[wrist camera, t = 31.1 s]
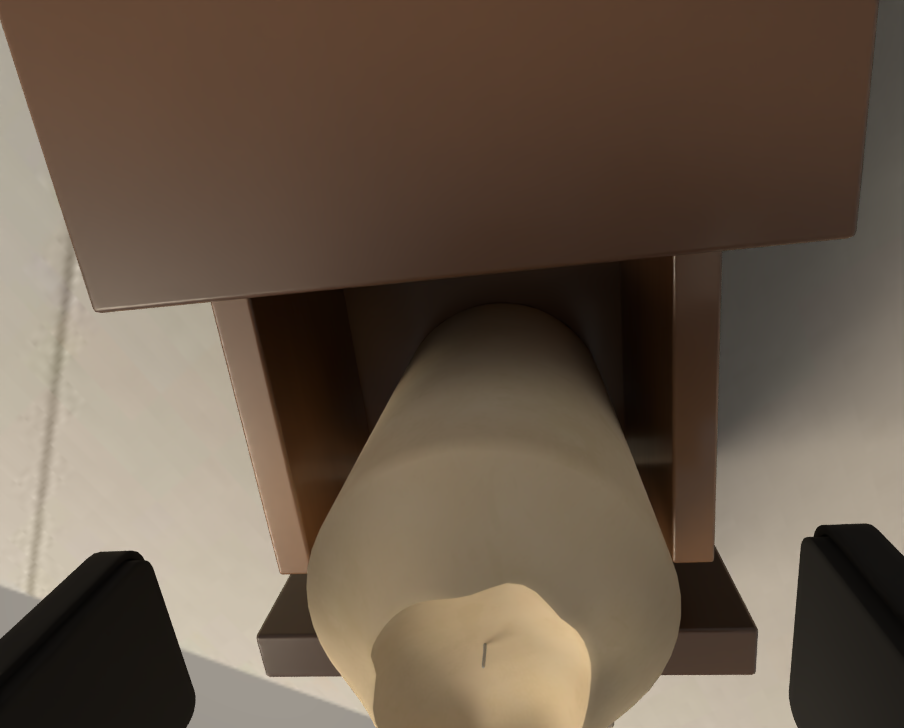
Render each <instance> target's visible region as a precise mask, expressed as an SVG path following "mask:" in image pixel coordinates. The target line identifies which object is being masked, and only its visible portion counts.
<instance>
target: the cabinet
mask: <svg viewBox="0 0 904 728" xmlns="http://www.w3.org/2000/svg"><path fill="white" fill-rule="evenodd" d="M878 4H879V0H0V20H1V23H2V27H3V30H4V33H5V36H6V39H7V42H8V45H9V48H10V51H11V55H12V58H13V61H14V64H15V67H16V70H17V73H18V76H19V79H20V83H21V86H22V89H23V92H24V95H25V98H26V101H27V104H28V108H29V111H30V114H31V117H32V120H33V123H34V126H35V129H36V132H37V136H38V139H39V142H40V145H41V148H42V151H43V154H44V157H45V160H46V164H47V167H48V170H49V173H50V176H51V179H52V182H53V185H54V188H55V192H56V195H57V198H58V201H59V204H60V207H61V210H62V213H63V216H64V220H65V223H66V226H67V229H68V232H69V235H70V238H71V241H72V244H73V248H74V251H75V254H76V257H77V260H78V263H79V266H80V269H81V272H82V276H83V279H84V282H85V285H86V288H87V291H88V294H89V297H90V301H91V304H92V307H93V309H94V310H95V312H100V313H105V312H115V311H125V310H135V309H145V308H155V307H165V306H175V305H185V304H195V303H205V302H215V301H225V300H235V299H245V298H255V297H265V296H275V295H285V294H296V293H306V292H316V291H326V290H336V289H346V288H356V287H366V286H376V285H386V284H396V283H406V282H416V281H426V280H436V279H446V278H456V277H466V276H476V275H486V274H496V273H506V272H516V271H526V270H536V269H546V268H556V267H566V266H576V265H586V264H596V263H606V262H616V261H626V260H636V259H646V258H656V257H666V256H676V255H686V254H696V253H706V252H716V251H726V250H736V249H746V248H756V247H766V246H776V245H787V244H797V243H807V242H817V241H827V240H837V239H847V238H850V237H852V236H854V235H855V233H856V229H857V219H858V208H859V198H860V188H861V178H862V168H863V157H864V147H865V137H866V127H867V117H868V106H869V96H870V86H871V76H872V66H873V55H874V45H875V35H876V25H877V15H878Z"/></svg>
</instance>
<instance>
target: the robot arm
mask: <svg viewBox="0 0 904 728" xmlns="http://www.w3.org/2000/svg"><path fill="white" fill-rule="evenodd" d="M789 700H790V706H791V710H792V714H793V717H794V720H795V722H796V725H797V727H798V728H904V556H903V555H902V554H901V553H900V552H899V551H898V550H897V549H896V548H895V547H894V546H893V545H892V544H891V543H890V542H889V541H888V540H887V539H886V538H885V537H884V535H883V534H882V533H881V532H880V531H879V530H878V529H876V528H875V527H874V526H872V525H870V524H840V525H821V526H819V527H817V529H816V531H815V533H814V537H806V538H804V539H803V541H802V544H801V551H800V563H799V576H798V588H797V600H796V612H795V624H794V636H793V648H792V661H791V673H790V685H789ZM194 707H195V692H194V688H193V686H192V683H191V680H190V677H189V674H188V671H187V668H186V665H185V662H184V659H183V656H182V653H181V650H180V647H179V644H178V641H177V638H176V635H175V632H174V629H173V626H172V623H171V620H170V617H169V614H168V611H167V608H166V605H165V602H164V599H163V596H162V593H161V590H160V587H159V584H158V581H157V578H156V575H155V572H154V569H153V567H152V565H151V564H150V563H149V562H148V561H145V560H144V558H143V557H142V555H141V554H139V553H138V552H135V551H111V552H98V553H94V554H93V555H92V556H90V557H89V558H87V559H86V560H85V561H84V562H83V563H82V564H81V565H80V566H79V567H78V568H77V569H76V570H74V571H73V572H72V573H71V574H70V575H69V576H68V577H67V578H66V579H65V580H64V581H63V582H61V583H60V584H59V585H58V586H57V587H56V588H55V589H54V590H53V591H52V592H51V593H50V594H48V595H47V596H46V597H45V598H44V599H43V600H42V601H41V602H40V603H39V604H38V605H37V606H36V607H34V609H32V610H31V611H30V612H29V613H28V614H27V615H26V616H25V617H24V618H23V619H22V620H20V621H19V622H18V623H17V624H16V625H15V626H14V627H13V628H12V629H11V630H10V631H9V632H7V633H6V634H5V635H4V636H3V637H2V638H1V639H0V728H186V727H187V725H188V724H189V722H190V720H191V718H192V715H193V712H194Z"/></svg>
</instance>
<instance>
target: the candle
mask: <svg viewBox="0 0 904 728" xmlns="http://www.w3.org/2000/svg"><path fill="white" fill-rule="evenodd" d="M306 588H307V599H308V608H309V612H310V616H311V620H312V623H313V627H314V629H315V632H316V634H317V636H318V639H319V641H320V644H321V645H322V647H323V649H324V651H325V652H326V654H327V656H328V658H329V659H330V661H331V662H332V664H333V665H334V666H335V668H336V669H337V670H338V672H339V673H340V674H341V676H342V677H343V678H344V680H345V681H346V682H347V684H348V685H349V686H350V687H351V689H352V690H353V692H354V693H355V694H356V696H357V697H358V698H359V700H360V701H361V703H362V704H363V706H364V707H365V709H366V710H367V712H368V713H369V715H370V717H371V719H372V721H373V723H374V725H375V727H376V728H607V727H608V726H609V725H611V724H612V723H613V722H614V721H616V720H617V719H618V718H619V717H621V716H622V715H623V714H624V713H626V712H627V711H628V710H629V709H630V708H631V707H633V706H634V705H635V704H636V703H637V702H638V701H639V700H640V699H641V698H642V697H643V696H644V695H645V694H646V693H647V692H648V691H649V690H650V688H651V687H652V686H653V684H654V683H655V682H656V680H657V679H658V678H659V676H660V675H661V674H662V672H663V670H664V668H665V666H666V664H667V663H668V661H669V659H670V657H671V655H672V652H673V649H674V646H675V643H676V640H677V637H678V632H679V626H680V620H681V594H680V588H679V582H678V576H677V573H676V570H675V567H674V564H673V561H672V559H671V556H670V553H669V550H668V548H667V545H666V542H665V540H664V537H663V534H662V532H661V529H660V527H659V524H658V521H657V519H656V516H655V514H654V511H653V509H652V506H651V503H650V501H649V498H648V496H647V493H646V490H645V488H644V485H643V483H642V480H641V478H640V475H639V472H638V470H637V467H636V465H635V462H634V459H633V457H632V454H631V452H630V449H629V447H628V444H627V441H626V439H625V436H624V434H623V431H622V429H621V426H620V423H619V421H618V418H617V416H616V413H615V410H614V408H613V405H612V403H611V400H610V398H609V395H608V392H607V390H606V387H605V385H604V382H603V380H602V377H601V374H600V372H599V370H598V367H597V365H596V363H595V361H594V359H593V357H592V355H591V353H590V352H589V350H588V349H587V347H586V346H585V344H584V343H583V342H582V340H581V339H580V338H579V337H578V336H577V335H576V334H575V333H574V332H573V331H572V330H571V329H570V328H568V327H567V326H566V325H565V324H563V323H562V322H561V321H559V320H558V319H556V318H554V317H553V316H551V315H549V314H547V313H545V312H543V311H540V310H538V309H535V308H532V307H528V306H525V305H518V304H512V303H494V304H485V305H481V306H476V307H472V308H470V309H467V310H464V311H462V312H460V313H458V314H456V315H454V316H452V317H450V318H449V319H447V320H446V321H444V322H443V323H441V324H440V325H439V326H437V327H436V328H435V329H434V330H433V331H432V332H431V333H430V334H429V335H428V336H427V337H426V338H425V339H424V341H423V342H422V343H421V344H420V346H419V347H418V349H417V351H416V352H415V354H414V356H413V357H412V359H411V361H410V362H409V364H408V366H407V368H406V370H405V371H404V373H403V375H402V377H401V379H400V381H399V383H398V385H397V386H396V388H395V390H394V392H393V394H392V396H391V398H390V399H389V401H388V403H387V405H386V407H385V409H384V411H383V412H382V414H381V416H380V418H379V420H378V422H377V424H376V425H375V427H374V429H373V431H372V433H371V435H370V437H369V439H368V440H367V442H366V444H365V446H364V448H363V450H362V452H361V453H360V455H359V457H358V459H357V461H356V463H355V465H354V466H353V468H352V470H351V472H350V474H349V476H348V478H347V480H346V481H345V483H344V485H343V487H342V489H341V491H340V493H339V494H338V496H337V498H336V500H335V502H334V504H333V506H332V508H331V509H330V511H329V513H328V515H327V517H326V519H325V521H324V523H323V524H322V526H321V528H320V530H319V533H318V535H317V538H316V540H315V543H314V545H313V548H312V551H311V555H310V560H309V564H308V569H307V586H306Z"/></svg>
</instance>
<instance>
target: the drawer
mask: <svg viewBox="0 0 904 728" xmlns="http://www.w3.org/2000/svg"><path fill="white" fill-rule="evenodd" d="M721 281H722V251H716V252H706V253H696V254H686V255H676V256H666V257H656V258H646V259H636V260H626V261H616V262H606V263H596V264H586V265H576V266H566V267H556V268H546V269H536V270H526V271H516V272H506V273H496V274H486V275H476V276H466V277H456V278H446V279H436V280H426V281H416V282H406V283H396V284H386V285H376V286H366V287H356V288H346V289H336V290H326V291H316V292H306V293H296V294H285V295H275V296H265V297H255V298H245V299H235V300H225V301H215V302H211V305H212V309H213V313H214V317H215V320H216V324H217V328H218V332H219V336H220V340H221V344H222V348H223V352H224V356H225V360H226V364H227V368H228V371H229V375H230V379H231V383H232V387H233V391H234V395H235V399H236V403H237V407H238V411H239V415H240V418H241V422H242V426H243V430H244V434H245V438H246V442H247V446H248V450H249V454H250V458H251V462H252V466H253V469H254V473H255V477H256V481H257V485H258V489H259V493H260V497H261V501H262V505H263V509H264V513H265V517H266V520H267V524H268V528H269V532H270V536H271V540H272V544H273V548H274V552H275V556H276V560H277V564H278V568H279V571H280V573H281V574H290V576H289V578H288V580H287V582H286V583H285V585H284V587H283V589H282V591H281V592H280V594H279V596H278V598H277V600H276V602H275V603H274V605H273V607H272V609H271V611H270V612H269V614H268V616H267V618H266V620H265V622H264V623H263V625H262V627H261V629H260V631H259V632H258V634H257V642H258V646H259V649H260V653H261V656H262V660H263V663H264V667H265V670H266V674H267V675H268V676H270V677H305V676H341V674H340V673H339V672H338V670H337V669H336V668H335V666H334V665H333V664H332V662H331V661H330V659H329V658H328V656H327V654H326V652H325V651H324V649H323V647H322V645H321V644H320V641H319V639H318V636H317V634H316V632H315V629H314V627H313V623H312V620H311V616H310V612H309V608H308V599H307V588H306V586H307V569H308V564H309V560H310V555H311V551H312V548H313V545H314V543H315V540H316V538H317V535H318V533H319V530H320V528H321V526H322V524H323V523H324V521H325V519H326V517H327V515H328V513H329V511H330V509H331V508H332V506H333V504H334V502H335V500H336V498H337V496H338V494H339V493H340V491H341V489H342V487H343V485H344V483H345V481H346V480H347V478H348V476H349V474H350V472H351V470H352V468H353V466H354V465H355V463H356V461H357V459H358V457H359V455H360V453H361V452H362V450H363V448H364V446H365V444H366V442H367V440H368V439H369V437H370V435H371V433H372V431H373V429H374V427H375V425H376V424H377V422H378V420H379V418H380V416H381V414H382V412H383V411H384V409H385V407H386V405H387V403H388V401H389V399H390V398H391V396H392V394H393V392H394V390H395V388H396V386H397V385H398V383H399V381H400V379H401V377H402V375H403V373H404V371H405V370H406V368H407V366H408V364H409V362H410V361H411V359H412V357H413V356H414V354H415V352H416V351H417V349H418V347H419V346H420V344H421V343H422V342H423V341H424V339H425V338H426V337H427V336H428V335H429V334H430V333H431V332H432V331H433V330H434V329H435V328H436V327H437V326H439V325H440V324H441V323H443V322H444V321H446V320H447V319H449V318H450V317H452V316H454V315H456V314H458V313H460V312H462V311H464V310H467V309H470V308H472V307H476V306H481V305H485V304H494V303H512V304H518V305H525V306H528V307H532V308H535V309H538V310H540V311H543V312H545V313H547V314H549V315H551V316H553V317H554V318H556V319H558V320H559V321H561V322H562V323H563V324H565V325H566V326H567V327H568V328H570V329H571V330H572V331H573V332H574V333H575V334H576V335H577V336H578V337H579V338H580V339H581V340H582V342H583V343H584V344H585V346H586V347H587V349H588V350H589V352H590V353H591V355H592V357H593V359H594V361H595V363H596V365H597V367H598V370H599V372H600V374H601V377H602V380H603V382H604V385H605V387H606V390H607V392H608V395H609V398H610V400H611V403H612V405H613V408H614V410H615V413H616V416H617V418H618V421H619V423H620V426H621V429H622V431H623V434H624V436H625V439H626V441H627V444H628V447H629V449H630V452H631V454H632V457H633V459H634V462H635V465H636V467H637V470H638V472H639V475H640V478H641V480H642V483H643V485H644V488H645V490H646V493H647V496H648V498H649V501H650V503H651V506H652V509H653V511H654V514H655V516H656V519H657V521H658V524H659V527H660V529H661V532H662V534H663V537H664V540H665V542H666V545H667V548H668V550H669V553H670V556H671V559H672V561H673V564H674V567H675V570H676V573H677V576H678V582H679V588H680V594H681V620H680V626H679V632H678V637H677V640H676V643H675V646H674V649H673V652H672V655H671V657H670V659H669V661H668V663H667V664H666V666H665V668H664V670H663V672H662V674H661V675H752V674H755V672H756V656H757V639H758V629H757V627H756V625H755V623H754V621H753V619H752V617H751V615H750V613H749V611H748V609H747V607H746V605H745V603H744V602H743V600H742V598H741V596H740V594H739V592H738V590H737V588H736V586H735V584H734V582H733V580H732V578H731V576H730V574H729V572H728V570H727V568H726V566H725V564H724V562H723V560H722V559H721V557H720V555H719V553H718V551H717V549H716V547H715V545H714V540H715V503H716V466H717V429H718V392H719V355H720V318H721ZM613 726H614V722H613V723H612V724H611V725H609V726H608V727H607V728H612V727H613Z"/></svg>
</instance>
